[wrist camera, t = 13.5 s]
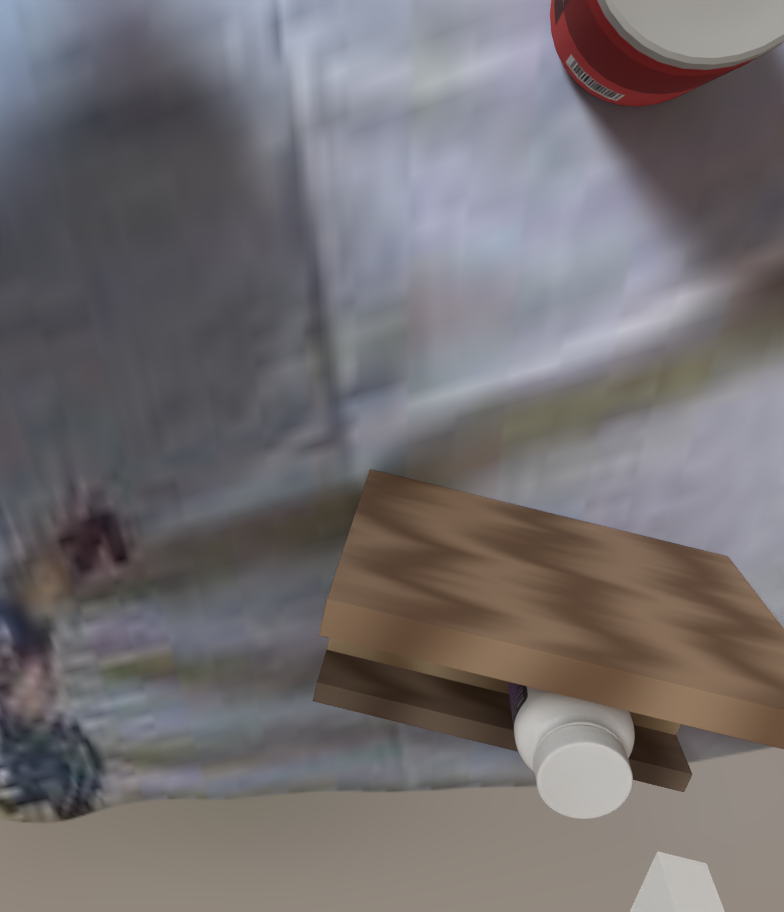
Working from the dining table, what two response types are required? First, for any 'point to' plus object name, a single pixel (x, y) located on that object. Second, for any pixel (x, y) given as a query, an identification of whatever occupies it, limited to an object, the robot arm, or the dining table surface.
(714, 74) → the canned food
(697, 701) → the cleat board
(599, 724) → the pill bottle
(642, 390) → the dining table surface
